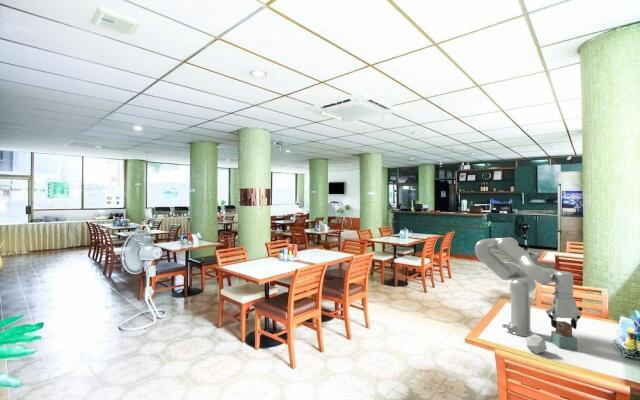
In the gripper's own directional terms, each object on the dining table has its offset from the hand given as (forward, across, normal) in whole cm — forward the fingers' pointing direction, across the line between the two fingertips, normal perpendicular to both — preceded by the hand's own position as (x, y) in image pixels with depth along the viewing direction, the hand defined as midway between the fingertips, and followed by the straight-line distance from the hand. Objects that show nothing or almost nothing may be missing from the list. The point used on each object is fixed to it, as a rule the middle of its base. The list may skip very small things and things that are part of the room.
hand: (563, 327), depth 167 cm
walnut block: (+4, 0, 0) cm, 4 cm away
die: (+10, -19, -9) cm, 23 cm away
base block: (+10, 0, 0) cm, 10 cm away
